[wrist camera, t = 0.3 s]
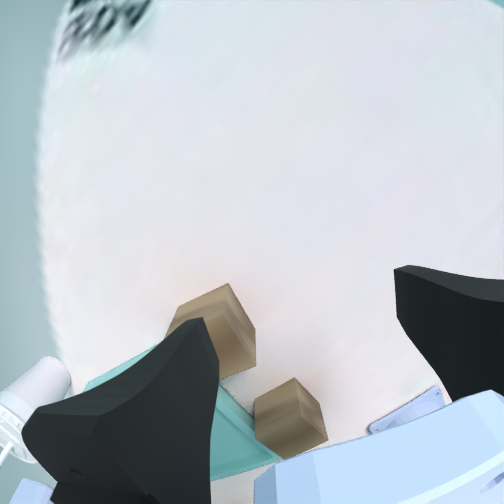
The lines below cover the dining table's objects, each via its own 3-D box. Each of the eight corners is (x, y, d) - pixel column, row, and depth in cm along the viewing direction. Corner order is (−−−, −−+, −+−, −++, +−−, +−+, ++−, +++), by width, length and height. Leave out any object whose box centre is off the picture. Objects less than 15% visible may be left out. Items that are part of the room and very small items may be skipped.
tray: (283, 446, 26) (284, 458, 25) (196, 473, 28) (195, 484, 26) (175, 334, 22) (170, 346, 21) (88, 381, 24) (82, 392, 22)
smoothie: (55, 399, 25) (-4, 494, 12) (20, 350, 23) (-58, 438, 10) (95, 392, 24) (35, 507, 11) (56, 337, 23) (-33, 444, 9)
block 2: (319, 402, 24) (328, 440, 20) (281, 422, 25) (284, 460, 21) (294, 376, 24) (301, 416, 19) (254, 398, 24) (254, 438, 20)
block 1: (255, 328, 22) (256, 365, 18) (207, 348, 23) (199, 386, 18) (228, 282, 21) (222, 314, 17) (178, 305, 22) (163, 339, 17)
